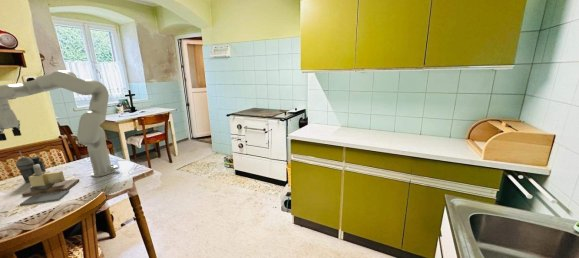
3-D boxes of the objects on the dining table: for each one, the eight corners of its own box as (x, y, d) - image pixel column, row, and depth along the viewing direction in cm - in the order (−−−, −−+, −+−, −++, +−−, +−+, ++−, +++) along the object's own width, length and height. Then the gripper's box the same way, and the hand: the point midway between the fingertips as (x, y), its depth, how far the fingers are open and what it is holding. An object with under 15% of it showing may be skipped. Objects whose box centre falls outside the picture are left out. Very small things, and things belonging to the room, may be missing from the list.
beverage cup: (28, 184, 138) (17, 153, 133) (19, 183, 140) (8, 152, 135) (43, 179, 145) (33, 149, 140) (34, 178, 147) (24, 148, 142)
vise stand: (79, 181, 142) (72, 158, 138) (67, 190, 131) (59, 165, 127) (38, 186, 137) (30, 162, 133) (22, 196, 125) (13, 170, 122)
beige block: (31, 187, 128) (28, 177, 127) (39, 182, 134) (36, 172, 132) (60, 183, 131) (57, 173, 130) (66, 178, 137) (64, 169, 136)
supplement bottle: (29, 178, 147) (23, 160, 144) (34, 174, 153) (28, 157, 150) (43, 175, 150) (38, 158, 147) (48, 171, 156) (43, 155, 153)
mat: (69, 191, 129) (68, 190, 129) (58, 200, 121) (58, 198, 121) (33, 196, 125) (33, 195, 125) (20, 205, 117) (19, 204, 117)
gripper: (-7, 110, 120) (5, 141, 125) (21, 105, 137) (30, 133, 141) (-25, 111, 119) (-13, 143, 123) (5, 106, 135) (15, 134, 139)
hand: (10, 138), depth 132 cm, fingers open, 9 cm apart
